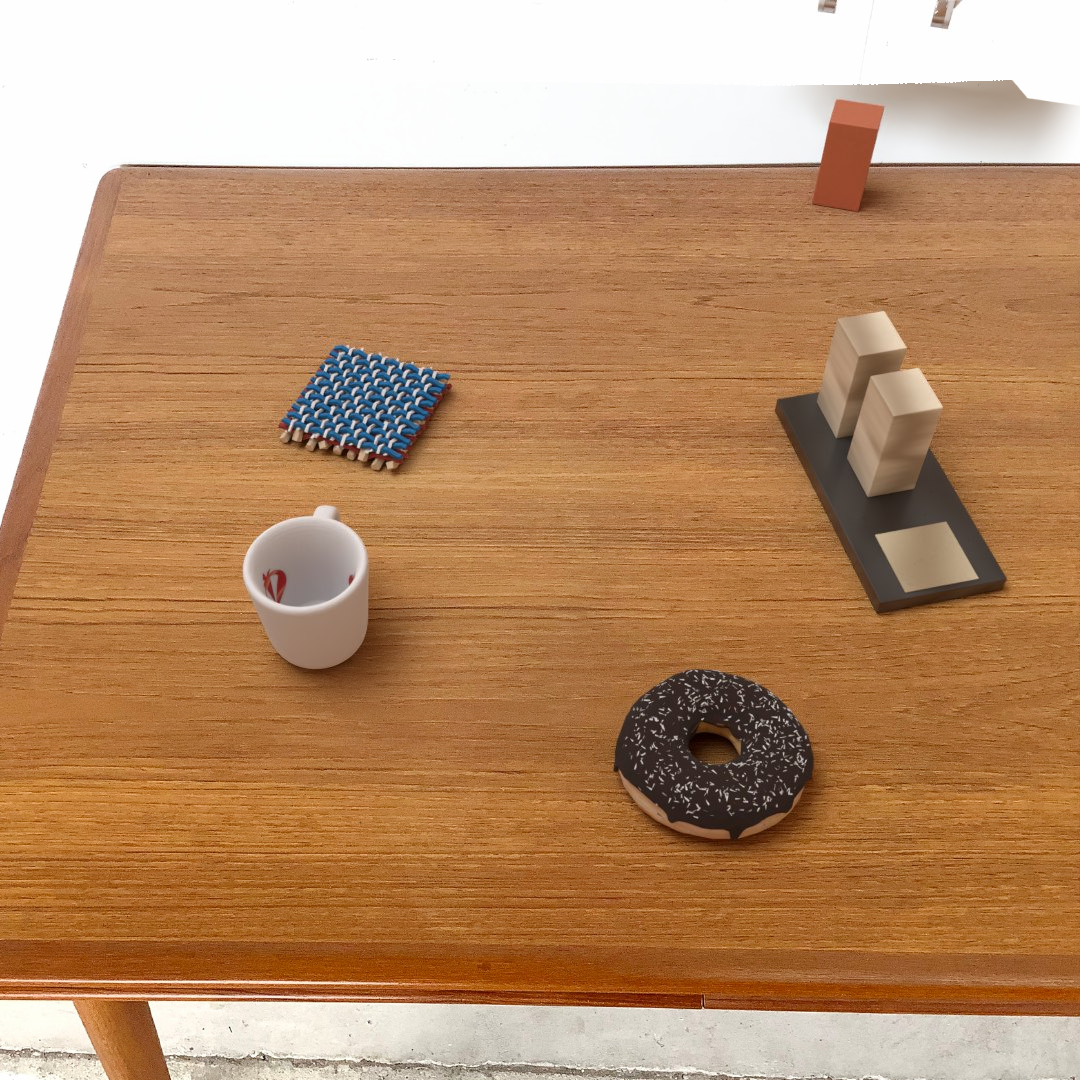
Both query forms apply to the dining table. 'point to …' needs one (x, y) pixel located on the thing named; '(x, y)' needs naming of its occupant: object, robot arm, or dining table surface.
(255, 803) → the dining table surface
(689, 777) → the donut
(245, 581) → the cup
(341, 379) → the woven mat
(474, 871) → the dining table surface
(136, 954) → the dining table surface
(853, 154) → the terracotta rectangular block
